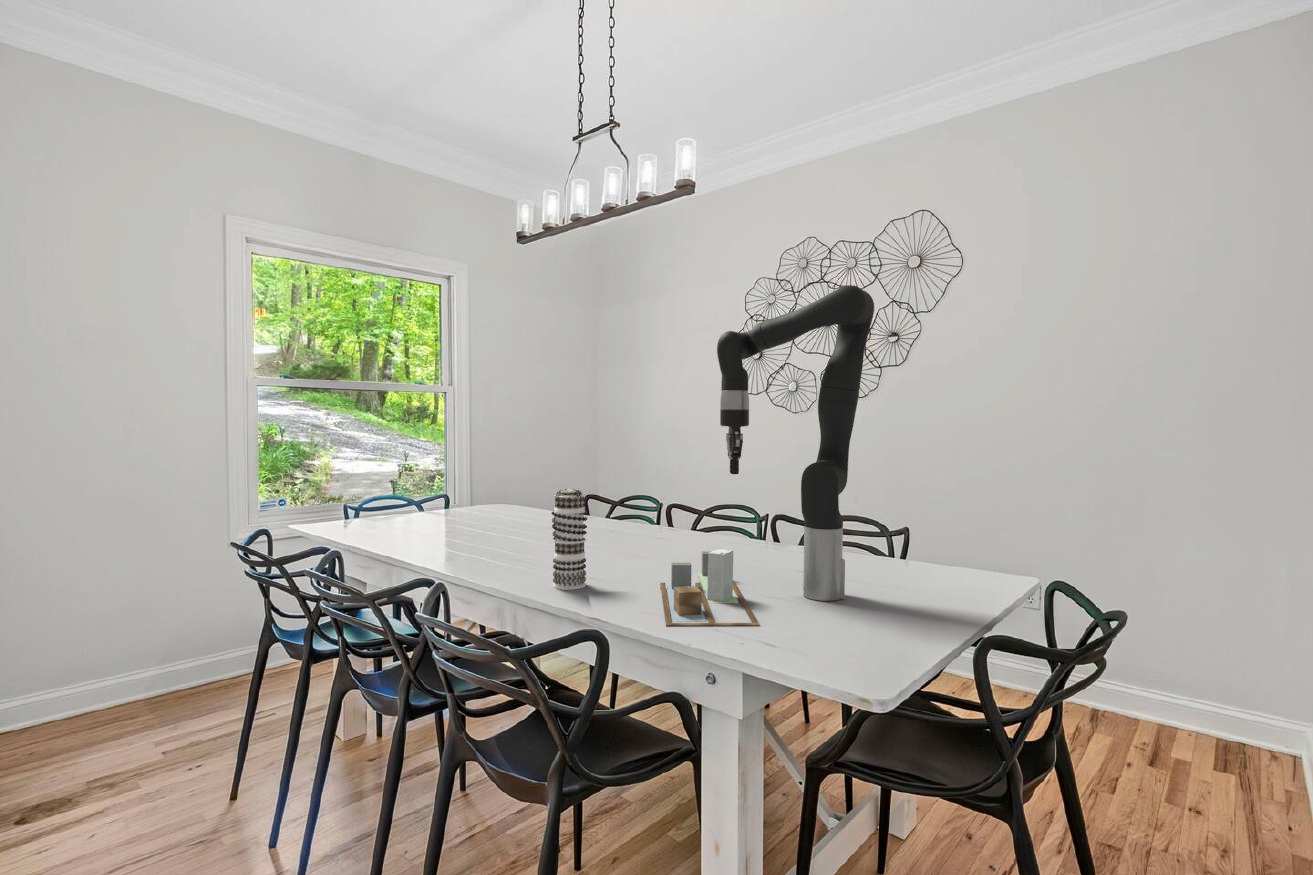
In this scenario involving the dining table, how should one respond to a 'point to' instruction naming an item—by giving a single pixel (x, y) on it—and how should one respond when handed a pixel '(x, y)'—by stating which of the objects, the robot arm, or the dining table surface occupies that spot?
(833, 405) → the robot arm
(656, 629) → the dining table surface
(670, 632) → the dining table surface
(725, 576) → the skincare box
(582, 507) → the decorative candle
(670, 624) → the lane rails
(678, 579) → the strip
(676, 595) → the walnut cube
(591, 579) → the dining table surface
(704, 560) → the strip
